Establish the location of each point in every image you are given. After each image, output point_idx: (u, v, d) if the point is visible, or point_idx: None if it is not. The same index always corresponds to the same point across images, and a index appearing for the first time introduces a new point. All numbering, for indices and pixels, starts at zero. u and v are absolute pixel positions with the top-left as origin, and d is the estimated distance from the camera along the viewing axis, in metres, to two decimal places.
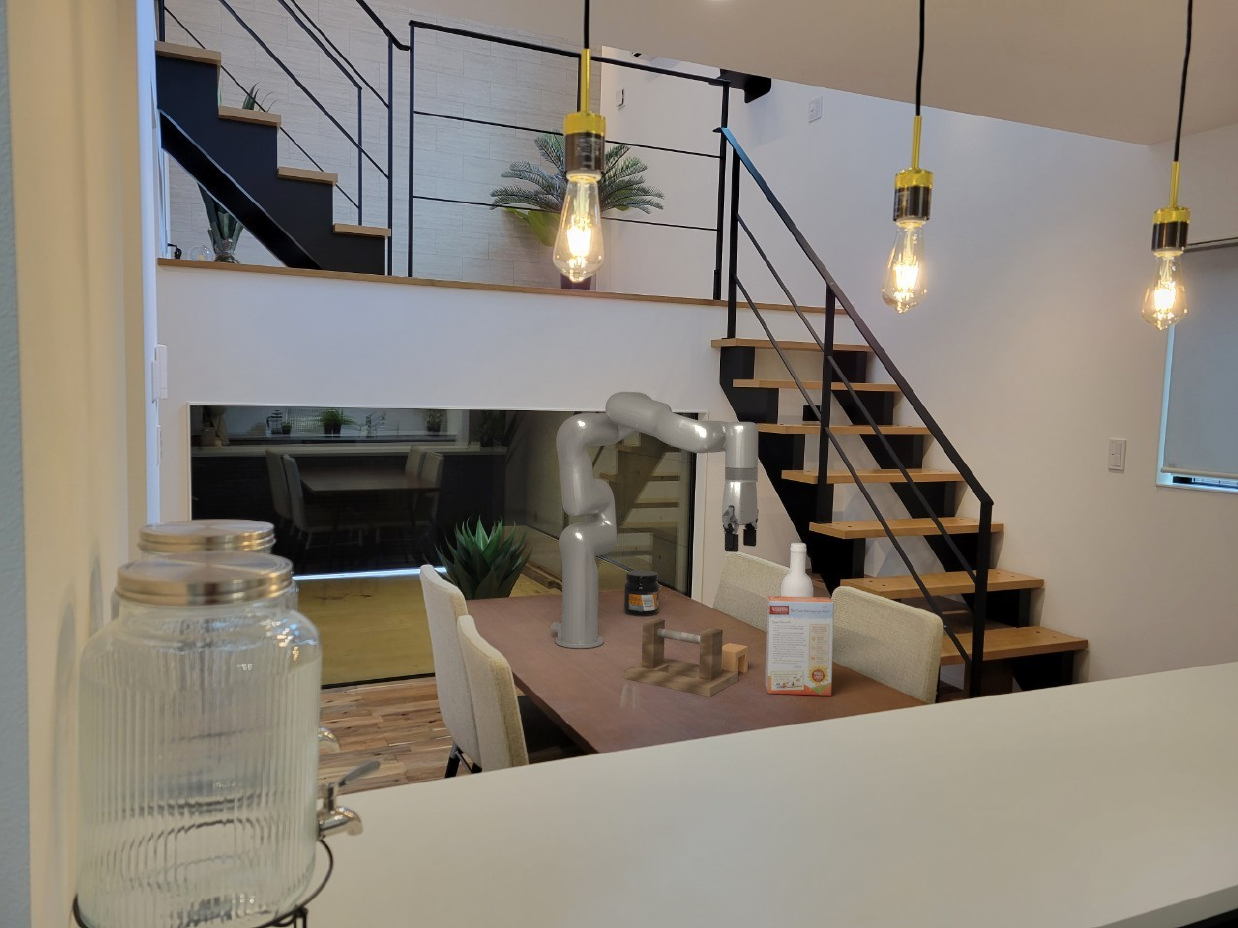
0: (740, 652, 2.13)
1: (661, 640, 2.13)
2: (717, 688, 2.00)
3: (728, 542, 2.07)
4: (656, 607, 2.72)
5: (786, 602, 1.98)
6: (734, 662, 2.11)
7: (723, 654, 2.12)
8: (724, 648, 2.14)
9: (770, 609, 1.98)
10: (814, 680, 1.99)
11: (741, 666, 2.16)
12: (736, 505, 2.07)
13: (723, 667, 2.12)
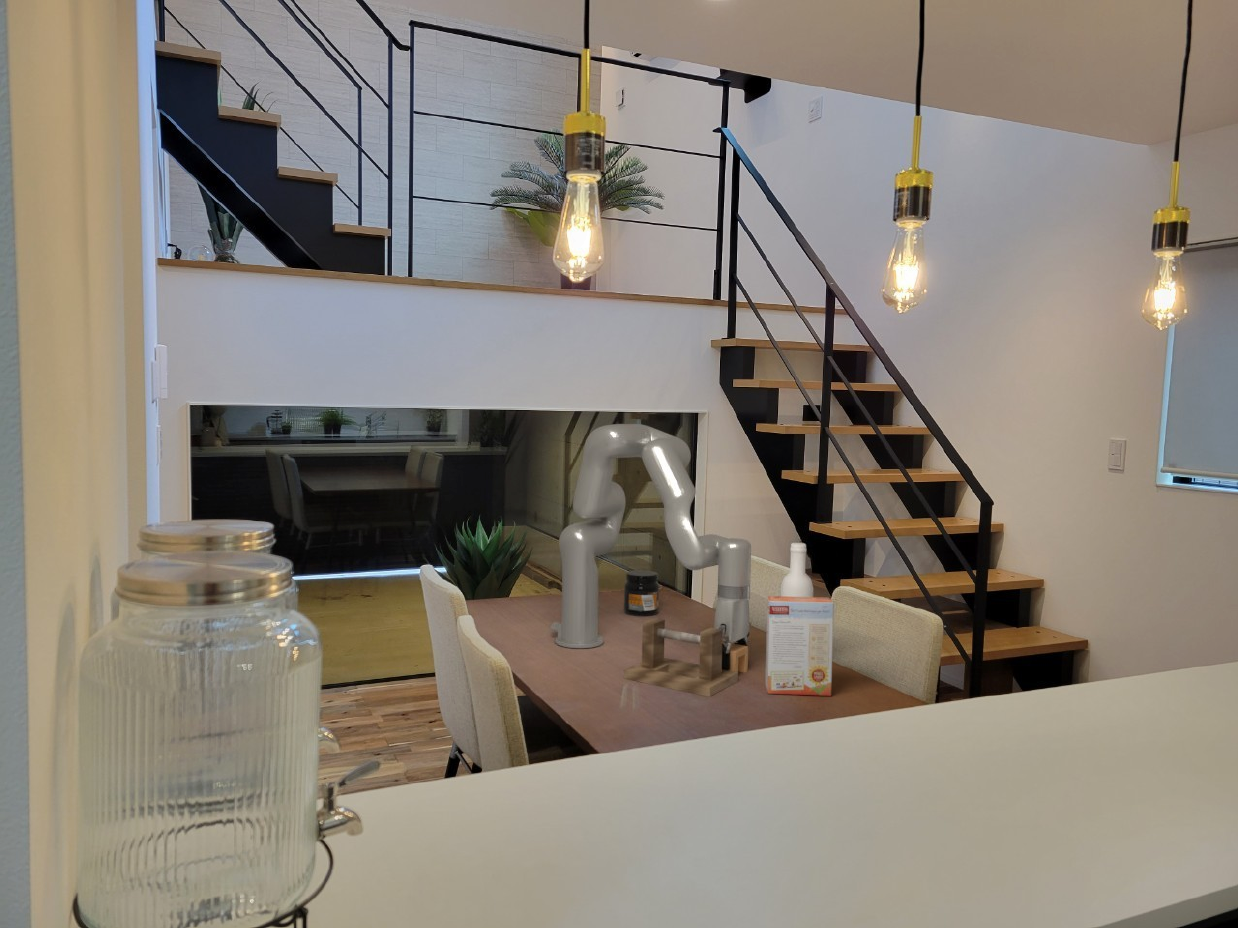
0: (740, 652, 2.13)
1: (661, 640, 2.13)
2: (717, 688, 2.00)
3: None
4: (656, 607, 2.72)
5: (786, 602, 1.98)
6: (734, 662, 2.11)
7: None
8: None
9: (770, 609, 1.98)
10: (814, 680, 1.99)
11: (741, 666, 2.16)
12: (728, 623, 2.09)
13: None
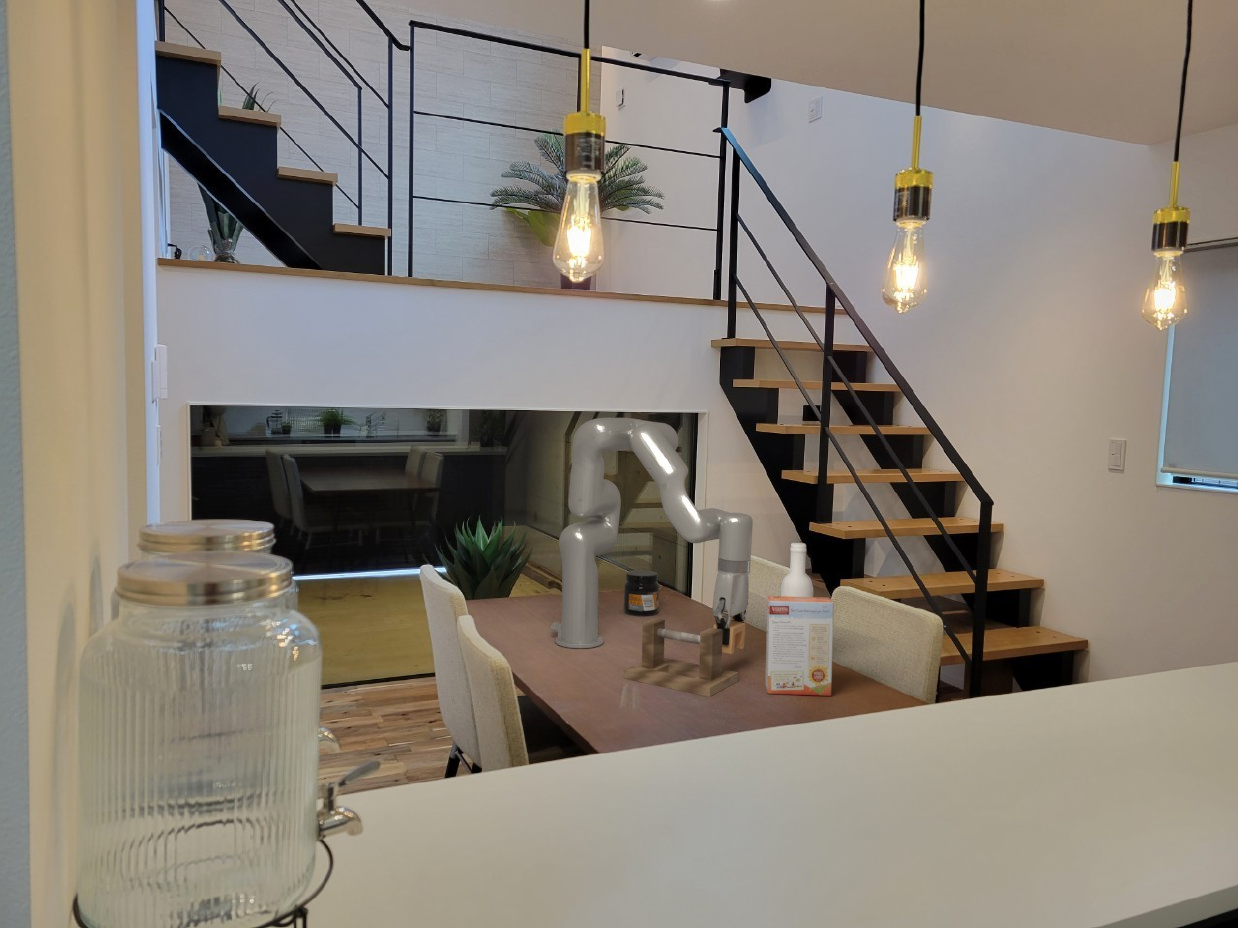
0: (737, 629, 2.13)
1: (661, 640, 2.13)
2: (717, 688, 2.00)
3: None
4: (656, 607, 2.72)
5: (786, 602, 1.98)
6: (731, 638, 2.11)
7: None
8: None
9: (770, 609, 1.98)
10: (814, 680, 1.99)
11: (738, 643, 2.16)
12: (727, 597, 2.09)
13: None
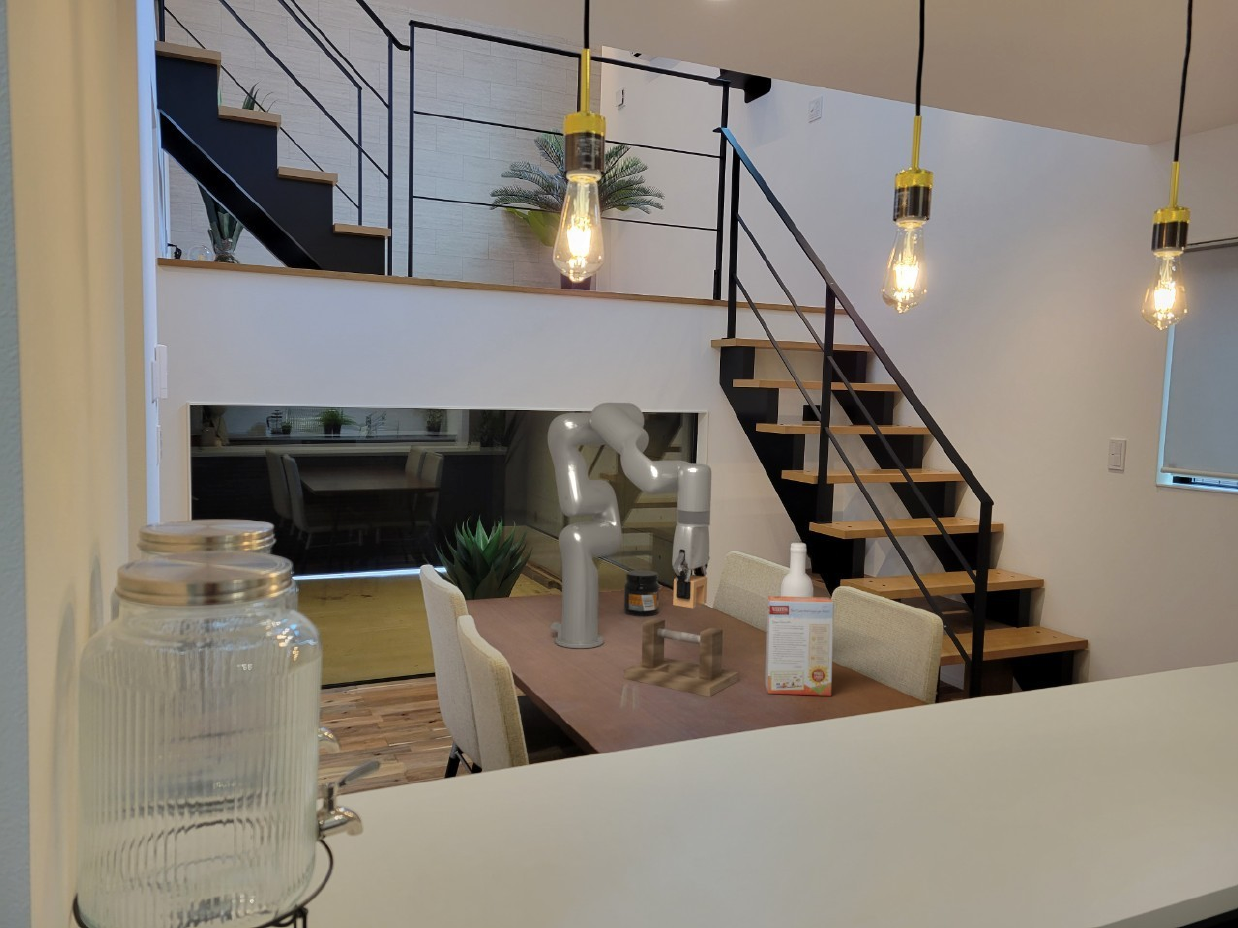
0: (699, 582, 2.07)
1: (661, 640, 2.13)
2: (717, 688, 2.00)
3: (680, 589, 2.05)
4: (656, 607, 2.72)
5: (786, 602, 1.98)
6: (692, 592, 2.05)
7: None
8: None
9: (770, 609, 1.99)
10: (814, 680, 1.99)
11: (700, 597, 2.10)
12: (687, 549, 2.03)
13: None
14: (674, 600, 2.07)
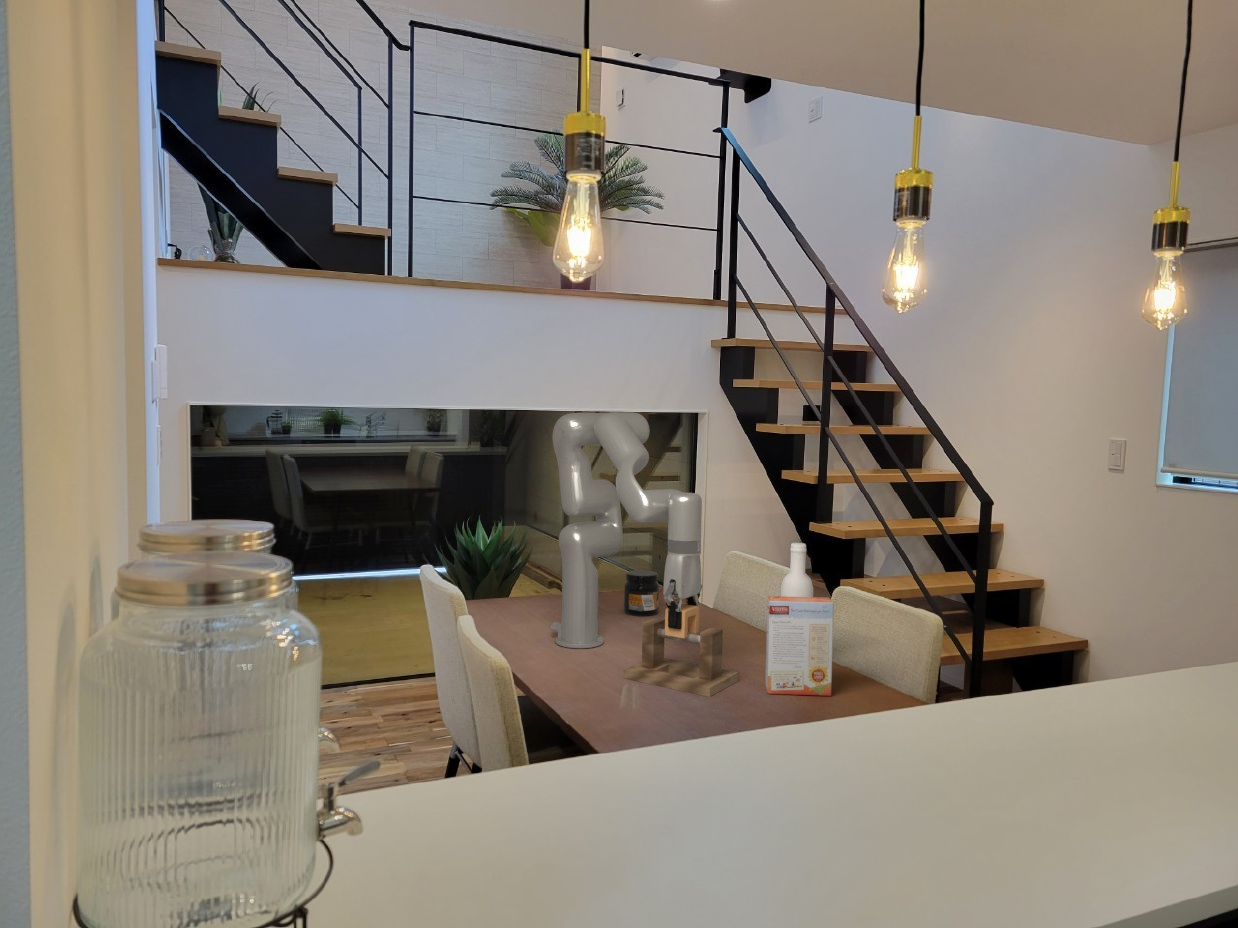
0: (690, 612, 2.06)
1: (661, 640, 2.13)
2: (717, 688, 2.00)
3: (671, 619, 2.04)
4: (656, 607, 2.72)
5: (786, 602, 1.98)
6: (683, 622, 2.04)
7: None
8: None
9: (770, 609, 1.99)
10: (814, 680, 1.99)
11: (692, 627, 2.09)
12: (677, 579, 2.02)
13: None
14: (666, 630, 2.06)
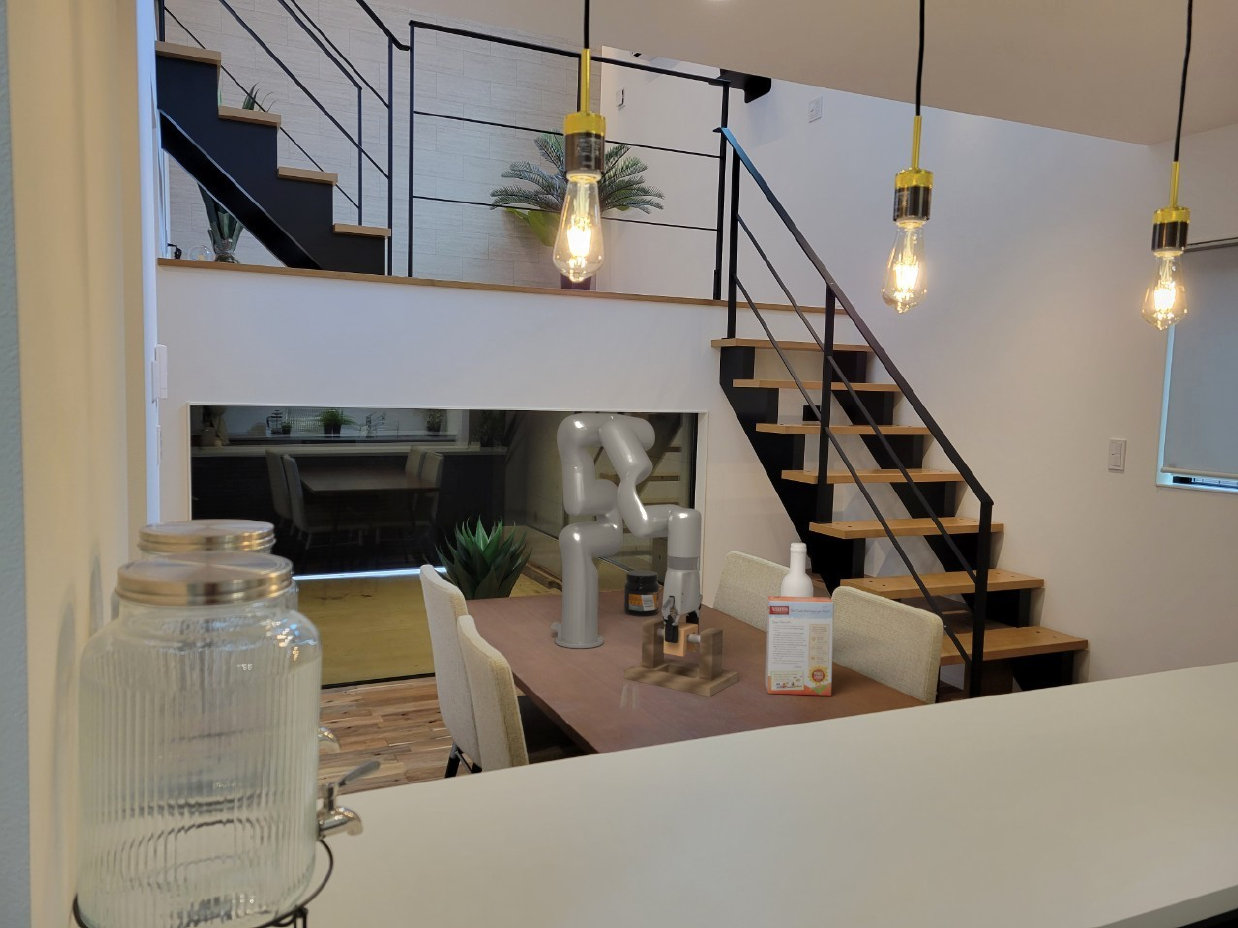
0: (689, 630, 2.06)
1: (661, 640, 2.13)
2: (717, 688, 2.00)
3: (668, 633, 2.03)
4: (656, 607, 2.72)
5: (786, 602, 1.98)
6: (682, 640, 2.04)
7: None
8: None
9: (770, 609, 1.98)
10: (814, 680, 1.99)
11: (690, 645, 2.09)
12: (677, 595, 2.03)
13: (671, 645, 2.06)
14: (664, 648, 2.07)
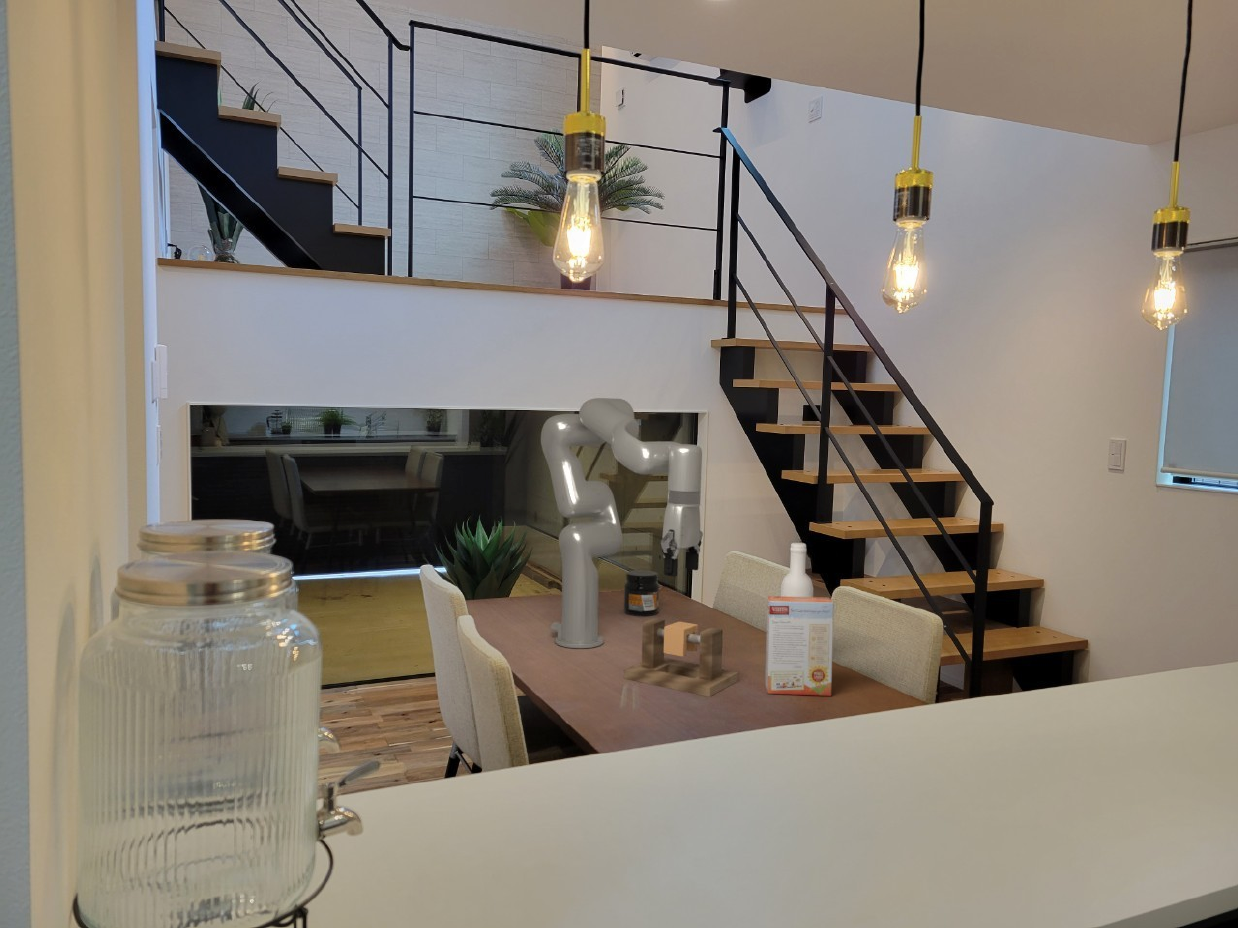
0: (689, 630, 2.06)
1: (661, 640, 2.13)
2: (717, 688, 2.00)
3: (667, 566, 2.05)
4: (656, 607, 2.72)
5: (786, 602, 1.98)
6: (682, 640, 2.04)
7: (671, 632, 2.06)
8: (673, 626, 2.07)
9: (770, 609, 1.98)
10: (814, 680, 1.99)
11: (690, 645, 2.09)
12: (676, 529, 2.04)
13: (671, 645, 2.06)
14: (664, 648, 2.07)
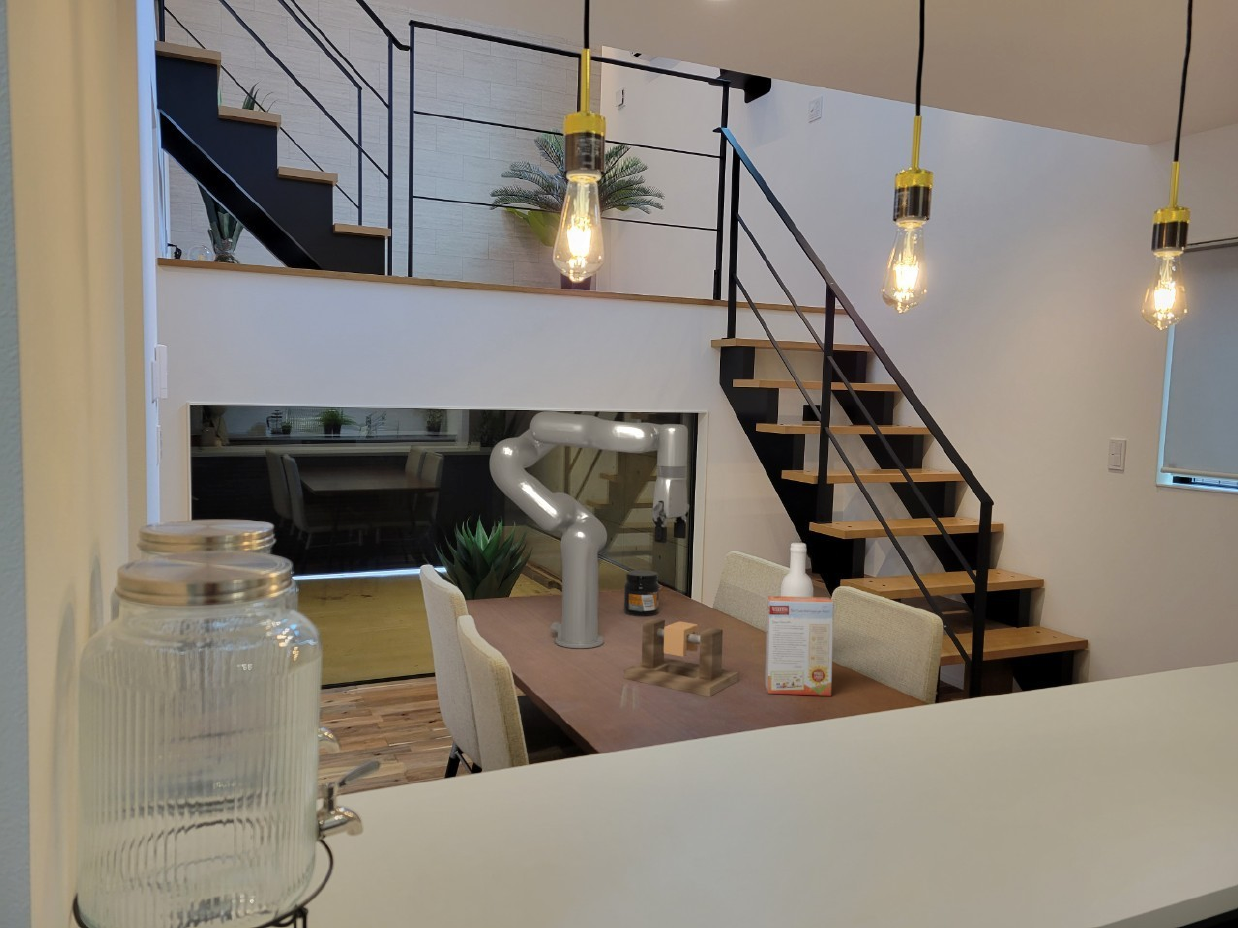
0: (689, 630, 2.06)
1: (661, 640, 2.13)
2: (717, 688, 2.00)
3: (657, 534, 2.27)
4: (656, 607, 2.72)
5: (786, 602, 1.98)
6: (682, 640, 2.04)
7: (671, 632, 2.06)
8: (673, 626, 2.07)
9: (770, 609, 1.99)
10: (814, 680, 1.99)
11: (691, 645, 2.09)
12: (665, 500, 2.26)
13: (671, 645, 2.06)
14: (664, 648, 2.07)
